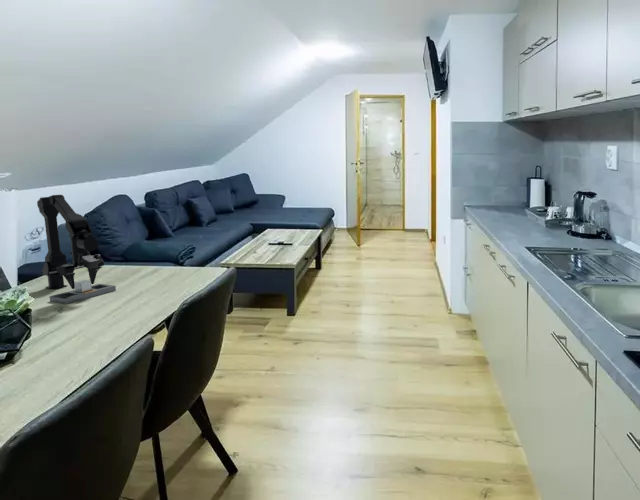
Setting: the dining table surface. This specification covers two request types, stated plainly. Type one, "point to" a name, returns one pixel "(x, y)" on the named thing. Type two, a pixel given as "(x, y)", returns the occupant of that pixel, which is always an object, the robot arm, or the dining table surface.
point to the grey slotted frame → (82, 294)
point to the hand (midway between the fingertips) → (83, 286)
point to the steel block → (82, 286)
